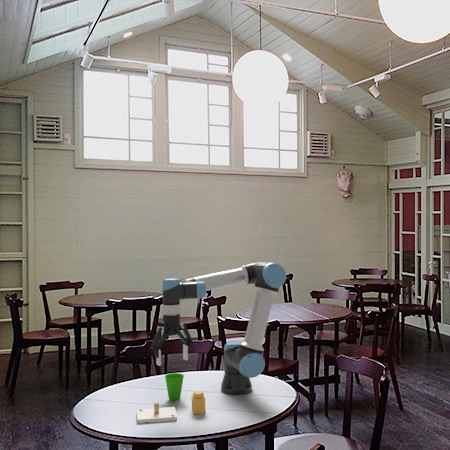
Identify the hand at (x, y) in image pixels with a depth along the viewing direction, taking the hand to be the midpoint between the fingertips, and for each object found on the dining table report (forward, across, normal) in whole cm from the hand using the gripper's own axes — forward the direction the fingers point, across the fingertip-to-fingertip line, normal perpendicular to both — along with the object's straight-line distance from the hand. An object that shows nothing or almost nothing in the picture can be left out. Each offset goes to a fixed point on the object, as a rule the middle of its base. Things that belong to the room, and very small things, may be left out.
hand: (172, 362), depth 215 cm
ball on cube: (+20, -7, +9) cm, 24 cm away
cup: (+21, -7, -11) cm, 24 cm away
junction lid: (+20, +10, +3) cm, 23 cm away
